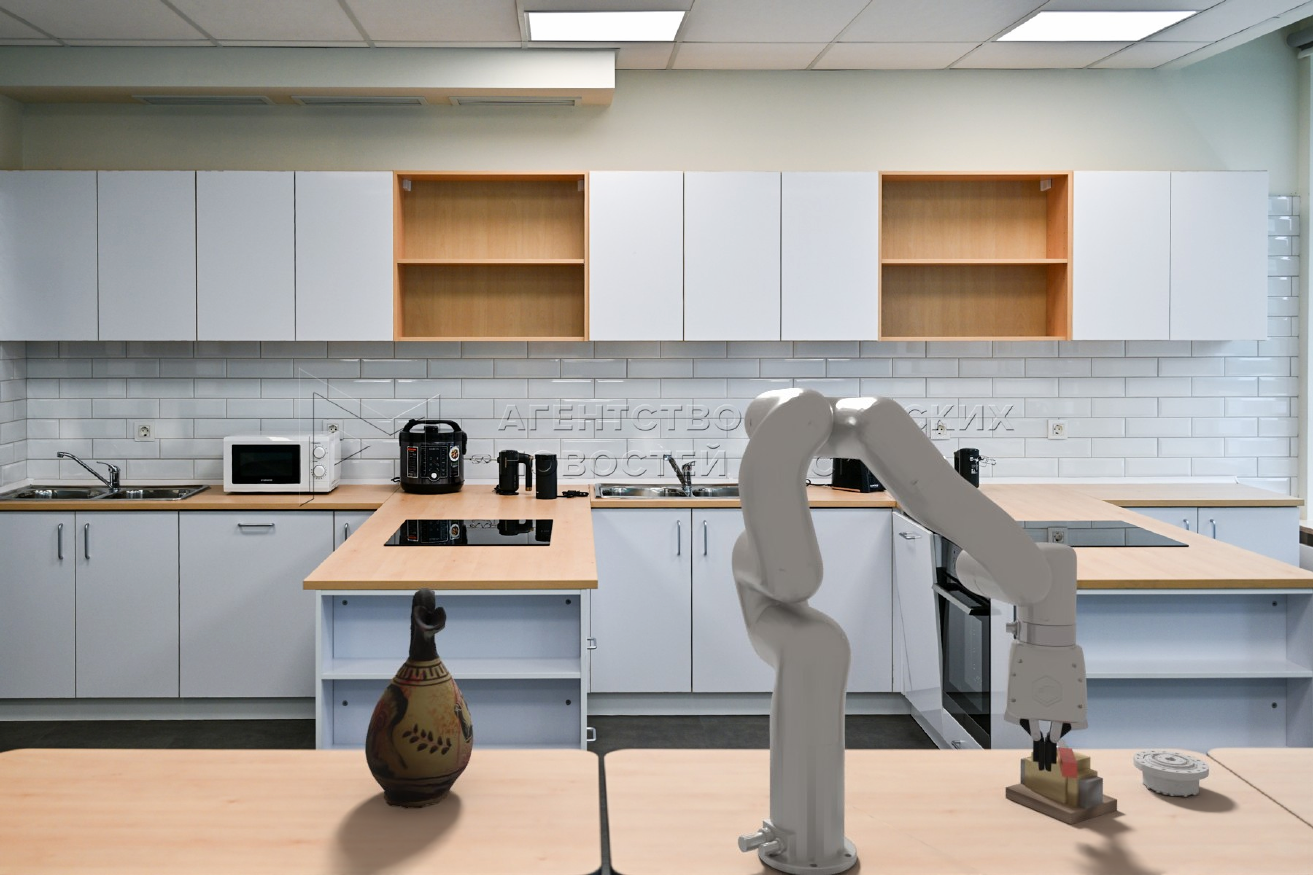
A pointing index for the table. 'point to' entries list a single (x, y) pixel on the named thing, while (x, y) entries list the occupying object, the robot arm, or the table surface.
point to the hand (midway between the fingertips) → (1044, 767)
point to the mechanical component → (1171, 772)
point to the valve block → (1062, 791)
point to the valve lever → (1066, 760)
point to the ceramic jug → (420, 720)
